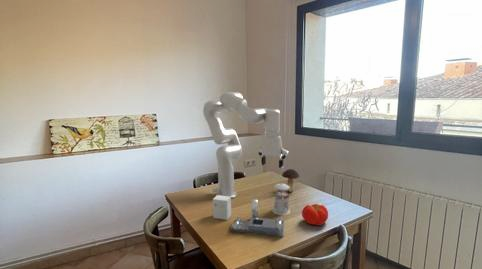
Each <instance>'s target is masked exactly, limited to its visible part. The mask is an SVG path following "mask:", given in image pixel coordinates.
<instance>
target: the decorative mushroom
mask: <svg viewBox="0 0 482 269" xmlns="http://www.w3.org/2000/svg"><path fill="white" fill-rule="evenodd" d="M281 177H282V178H286V179H287V184H286V185H288V186H289V189H288V190H287V191H288V192H290V193H291V192H294V190H295V185H294V184H295V182H294V179H298V178H300V174H299V172H298V171H296V170H295V169H292V168H288V169H286V170H284V171H282V173H281Z"/></svg>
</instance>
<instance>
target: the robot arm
mask: <svg viewBox="0 0 482 269" xmlns="http://www.w3.org/2000/svg"><path fill="white" fill-rule="evenodd" d="M231 111H233V112H235V113H237V115H238V117H239V118H240V119H241V120H243V121H244V122H247V123H249V124H251V125H253V124H254V125H255V124H261V123H262V124H263V123H264V130H263V131H262V134H264V135H263V137H262V140H261V141H262V142H261V143H262V144H261V146H260V147H258V148H257V149H256V151H257V153H258V156H260V158H261V159H260V160H261V165H262V166H264V165H266V164H267V163H266V161H267V158H266V156H267V157H278V159H279V160H278V168H281V167H284V159H285V158H287V156H288V155H289V151H288V150H286V149H284V148H283V141H282V136H281V112H280V109H275V108H273V109H272V108H271V109H270V108H265V107H263V108H251V107H249V106H248V101H247V100H246V99H245V98H244V97H243V95H242V93H240V92H238V91H227V92H223V93H221V95H220V96H219V99H213V100H208V101H207V102H204V105H203V109H202V112H203V118H204V119H205V121H206V123H207V125H208V129H209V132H210V134H211V137H212V139H213V142H214V143H215V144H216V145H217V146H219V145H222V146H219V147H218V148H217V150H216V151H215V157H216V162H217V173H218V174H217V177H218V178H217V179H218V187H217V188H216V187H212V192H213V193H216V195H215V197H216V196H217V195H220V196H228V197H231V199H234V198H236V196H238V195H237V192H236V191H235V178H234V177H235V176H234V175H235V172H234V169H235V168H234V166H233V163H232V161H234V160H237V159H239V158H241V156H242V155H243V148H242V145H241V143H240V139H239V136H238V134H237V132H236V130H235V129H234V128H232V127H225V126H224V124H223V120H222V119H221V118H220V117H219V116H218V115H219V114H221V115H222V114H228V113H230V112H231ZM224 144H225V145H224ZM283 153H284V154H283Z"/></svg>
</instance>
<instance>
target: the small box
mask: <svg viewBox="0 0 482 269" xmlns="http://www.w3.org/2000/svg"><path fill="white" fill-rule="evenodd" d="M231 200H232V198H231V197H228V196H220V195H217V196H216V195H215V197H213V198H212V212H213V213H212V214H213V216H212V217H213V218H212V219H217V220H218V219H219V220H225V221H229V218H230V217H231V216H232V201H231Z"/></svg>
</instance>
